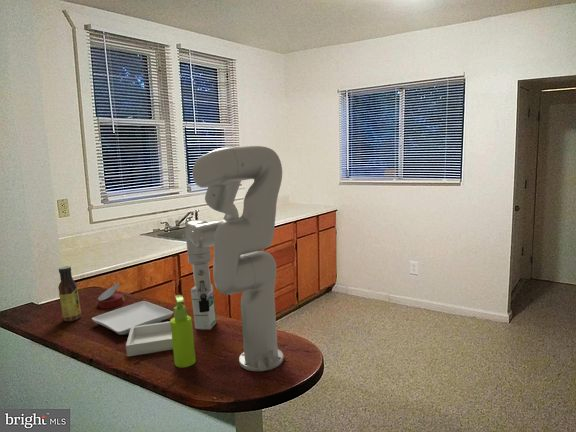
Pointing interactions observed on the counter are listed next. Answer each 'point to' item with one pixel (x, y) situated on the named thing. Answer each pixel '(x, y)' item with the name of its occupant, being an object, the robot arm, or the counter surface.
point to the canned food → (111, 298)
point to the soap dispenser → (182, 335)
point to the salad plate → (132, 317)
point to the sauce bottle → (68, 295)
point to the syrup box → (203, 318)
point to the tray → (149, 339)
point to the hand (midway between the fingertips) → (204, 307)
